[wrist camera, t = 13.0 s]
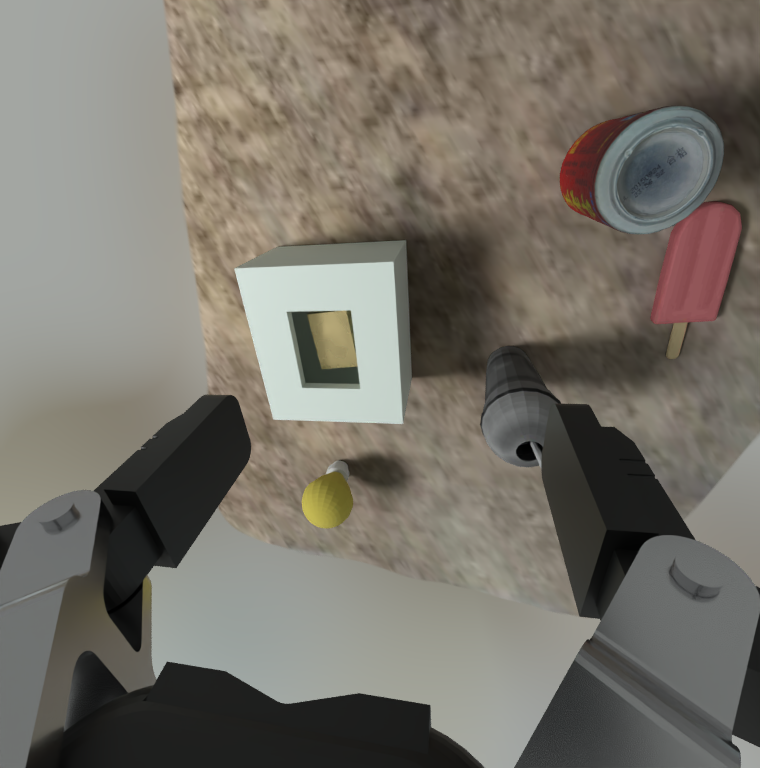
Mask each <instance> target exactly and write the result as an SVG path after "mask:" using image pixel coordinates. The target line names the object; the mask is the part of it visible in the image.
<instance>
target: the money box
mask: <svg viewBox="0 0 760 768" xmlns="http://www.w3.org/2000/svg"><path fill="white" fill-rule="evenodd" d="M234 269H235V273H236V277H237V281H238V284H239V288H240V292H241V296H242V300H243V304H244V308H245V311H246V315H247V319H248V323H249V327H250V331H251V335H252V338H253V342H254V346H255V350H256V354H257V358H258V362H259V365H260V369H261V373H262V377H263V381H264V385H265V389H266V392H267V396H268V400H269V404H270V408H271V412H272V416H273V419H276V420H305V421H334V422H363V423H392V424H403V421H404V416H405V411H406V406H407V401H408V396H409V390H410V385H411V380H412V368H411V344H410V320H409V296H408V272H407V248H406V240H400V241H381V242H361V243H342V244H323V245H303V246H284V247H276V248H274V249H272V250H270V251H268V252H266V253H264V254H262V255H260V256H258V257H256V258H254V259H252V260H250V261H248V262H246V263H244V264H242V265H240V266H238V267H236V268H234ZM347 310H351V314H352V323H353V331H354V340H355V348H356V357H357V365H358V367H345V368H332V369H321V365H320V361H319V358H318V354H317V350H316V347H315V343H314V339H313V335H312V332H311V328H310V324H309V321H308V317H307V314H308V313H309V312H310V311H347Z"/></svg>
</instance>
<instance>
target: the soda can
mask: <svg viewBox="0 0 760 768" xmlns="http://www.w3.org/2000/svg"><path fill="white" fill-rule="evenodd" d="M723 156H724V143H723V138H722V135H721V132H720V129H719V127H718V126H717V124H716V123H715V122H714V121H713V120H712V119H711V118H710V117H709V116H708V115H707V114H705V113H704V112H702V111H700V110H697V109H695V108H692V107H688V106H666V107H662V108H658V109H653V110H650V111H646V112H642V113H638V114H634V115H630V116H625V117H622V118H619V119H614V120H609V121H605V122H603V123H600V124H598V125H596V126H594V127H592V128H590V129H589V130H587V131H586V132H585V133H584V134H583V135H581V136H580V137H579V138H578V139H577V140H576V141H575V143H574V144H573V145H572V147H571V148H570V150H569V151H568V153H567V155H566V157H565V159H564V161H563V163H562V168H561V172H560V188H561V192H562V195H563V198H564V199H565V201H566V203H567V204H568V206H569V207H570V208H571V209H573V210H574V211H576V212H578V213H580V214H582V215H584V216H587V217H589V218H591V219H593V220H595V221H597V222H600V223H602V224H605V225H607V226H609V227H611V228H613V229H615V230H618V231H620V232H624V233H629V234H649V233H654V232H658V231H661V230H663V229H666V228H669V227H671V226H673V225H675V224H677V223H678V222H680V221H681V220H683V219H684V218H686V217H688V216H689V215H690V214H691V213H692V212H693V211H694V210H696V209H697V208H698V207H699V206H700V205H701V204H702V203H703V201H704V200H705V199H706V197H707V196H708V194H709V193H710V192H711V190H712V189H713V187H714V185H715V183H716V181H717V179H718V176H719V173H720V170H721V166H722V162H723Z"/></svg>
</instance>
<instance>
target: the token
mask: <svg viewBox="0 0 760 768" xmlns="http://www.w3.org/2000/svg"><path fill="white" fill-rule="evenodd" d="M307 317H308V321H309V324H310V328H311V332H312V335H313V339H314V343H315V347H316V350H317V354H318V358H319V361H320V365H321V369H332V368H345V367H358V365H357V357H356V348H355V340H354V331H353V323H352V314H351V310H347V311H310V312H309V313H308V314H307Z"/></svg>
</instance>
